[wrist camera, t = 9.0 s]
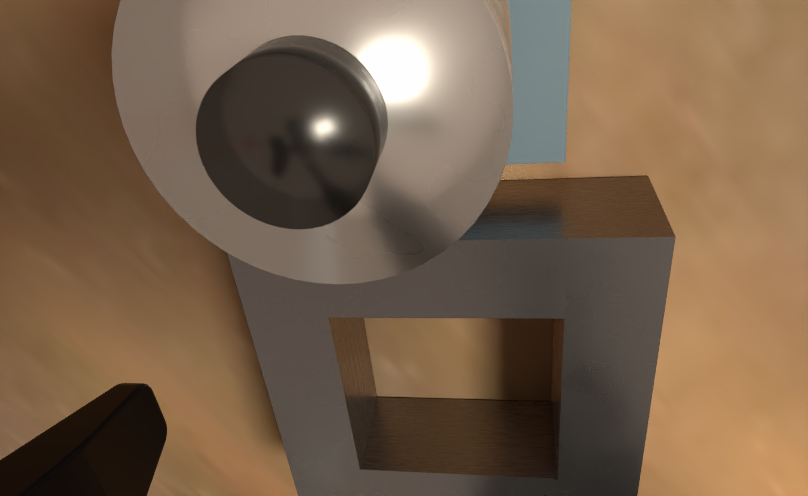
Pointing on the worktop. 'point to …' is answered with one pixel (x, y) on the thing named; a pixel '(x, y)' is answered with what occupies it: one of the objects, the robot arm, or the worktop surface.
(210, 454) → the worktop surface
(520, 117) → the mat
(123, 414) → the robot arm
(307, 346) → the frame
